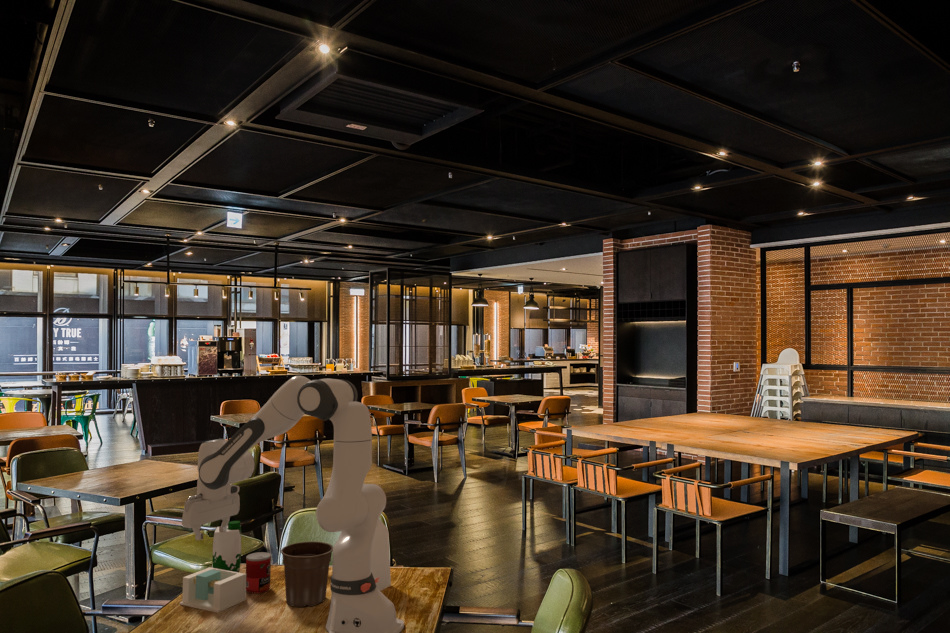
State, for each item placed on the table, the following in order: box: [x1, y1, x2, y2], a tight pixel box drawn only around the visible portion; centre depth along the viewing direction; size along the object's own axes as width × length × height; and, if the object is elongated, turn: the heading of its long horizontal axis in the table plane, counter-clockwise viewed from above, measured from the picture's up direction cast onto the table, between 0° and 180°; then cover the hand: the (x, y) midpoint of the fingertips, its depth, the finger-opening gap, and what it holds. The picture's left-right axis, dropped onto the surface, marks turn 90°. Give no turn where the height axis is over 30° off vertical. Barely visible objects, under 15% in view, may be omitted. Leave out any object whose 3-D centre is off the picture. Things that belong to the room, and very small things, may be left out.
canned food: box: [245, 551, 272, 594], centre depth 212 cm, size 8×8×11 cm
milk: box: [371, 519, 392, 592], centre depth 214 cm, size 12×12×26 cm
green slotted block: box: [195, 569, 221, 600], centre depth 199 cm, size 4×6×7 cm, turn 156°
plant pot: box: [280, 541, 334, 608], centre depth 202 cm, size 16×16×16 cm
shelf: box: [179, 566, 247, 614], centre depth 201 cm, size 16×11×8 cm
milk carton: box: [211, 520, 242, 573], centre depth 219 cm, size 9×9×20 cm
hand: (211, 535), depth 200 cm, fingers open, 8 cm apart
